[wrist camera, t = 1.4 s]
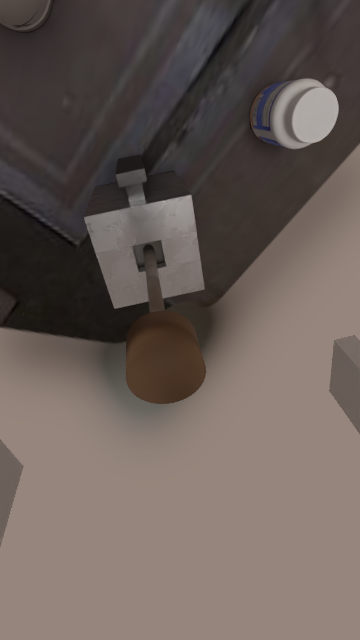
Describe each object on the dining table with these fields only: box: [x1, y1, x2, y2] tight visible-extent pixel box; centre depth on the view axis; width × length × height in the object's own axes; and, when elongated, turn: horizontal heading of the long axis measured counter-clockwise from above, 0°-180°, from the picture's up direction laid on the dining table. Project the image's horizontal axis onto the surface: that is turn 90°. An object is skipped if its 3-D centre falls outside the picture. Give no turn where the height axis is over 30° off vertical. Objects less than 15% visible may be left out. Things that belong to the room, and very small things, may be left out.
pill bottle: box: [250, 79, 338, 149], centre depth 31 cm, size 5×5×10 cm
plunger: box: [126, 240, 206, 404], centre depth 24 cm, size 7×7×18 cm
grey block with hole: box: [84, 155, 205, 309], centre depth 33 cm, size 9×11×12 cm
